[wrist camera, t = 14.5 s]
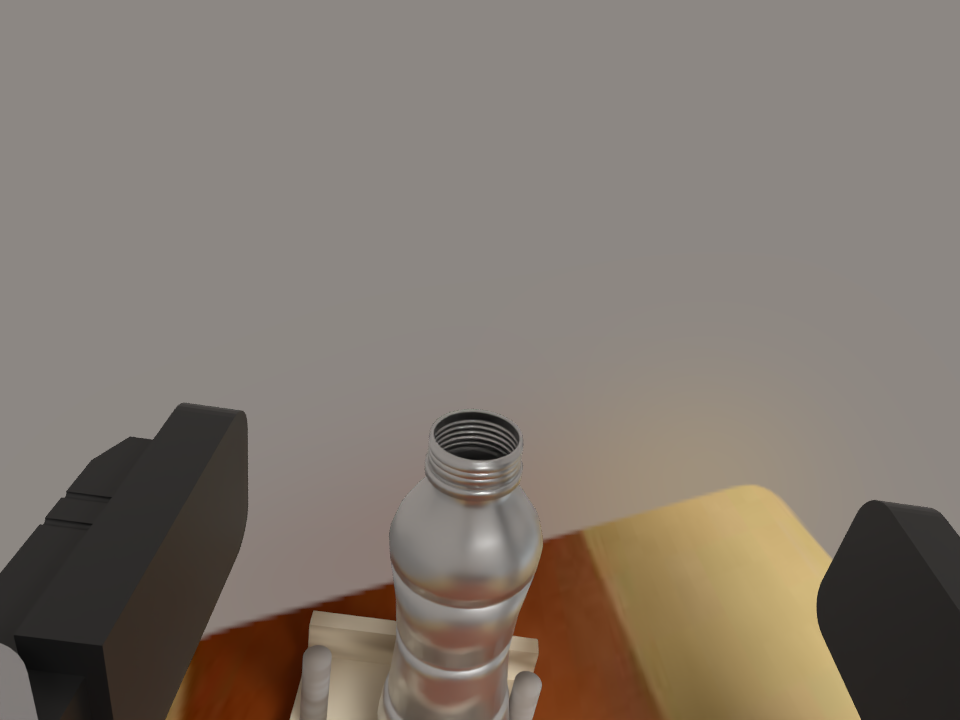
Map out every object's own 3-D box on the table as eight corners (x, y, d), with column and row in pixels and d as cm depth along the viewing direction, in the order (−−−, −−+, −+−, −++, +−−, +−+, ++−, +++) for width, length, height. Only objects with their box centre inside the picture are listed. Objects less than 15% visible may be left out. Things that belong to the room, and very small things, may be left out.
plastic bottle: (367, 699, 41) (376, 395, 31) (485, 678, 42) (531, 384, 32) (387, 819, 35) (405, 498, 25) (520, 788, 37) (587, 478, 27)
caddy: (525, 684, 45) (546, 608, 42) (531, 862, 36) (558, 783, 33) (310, 657, 44) (315, 578, 41) (263, 832, 35) (264, 748, 32)
